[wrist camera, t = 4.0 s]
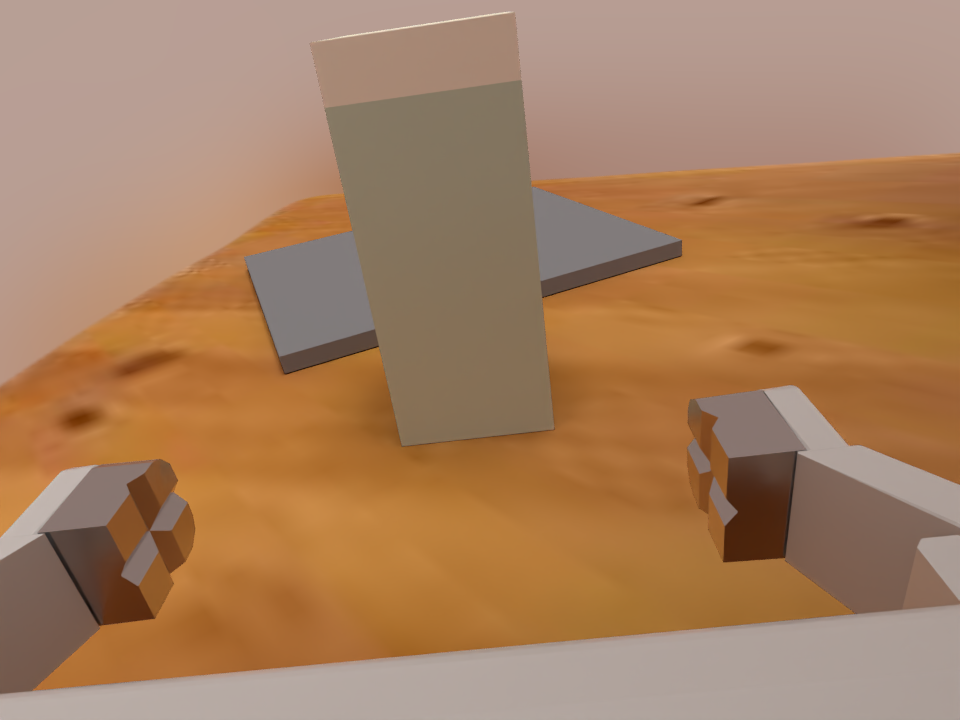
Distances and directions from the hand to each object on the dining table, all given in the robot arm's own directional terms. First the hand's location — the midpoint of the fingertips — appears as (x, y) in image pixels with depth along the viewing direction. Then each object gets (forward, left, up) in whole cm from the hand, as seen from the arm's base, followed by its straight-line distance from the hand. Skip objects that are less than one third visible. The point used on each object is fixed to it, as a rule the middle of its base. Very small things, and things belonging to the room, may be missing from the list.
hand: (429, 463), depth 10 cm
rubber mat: (-9, -25, -6) cm, 27 cm away
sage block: (-5, -11, -6) cm, 13 cm away
